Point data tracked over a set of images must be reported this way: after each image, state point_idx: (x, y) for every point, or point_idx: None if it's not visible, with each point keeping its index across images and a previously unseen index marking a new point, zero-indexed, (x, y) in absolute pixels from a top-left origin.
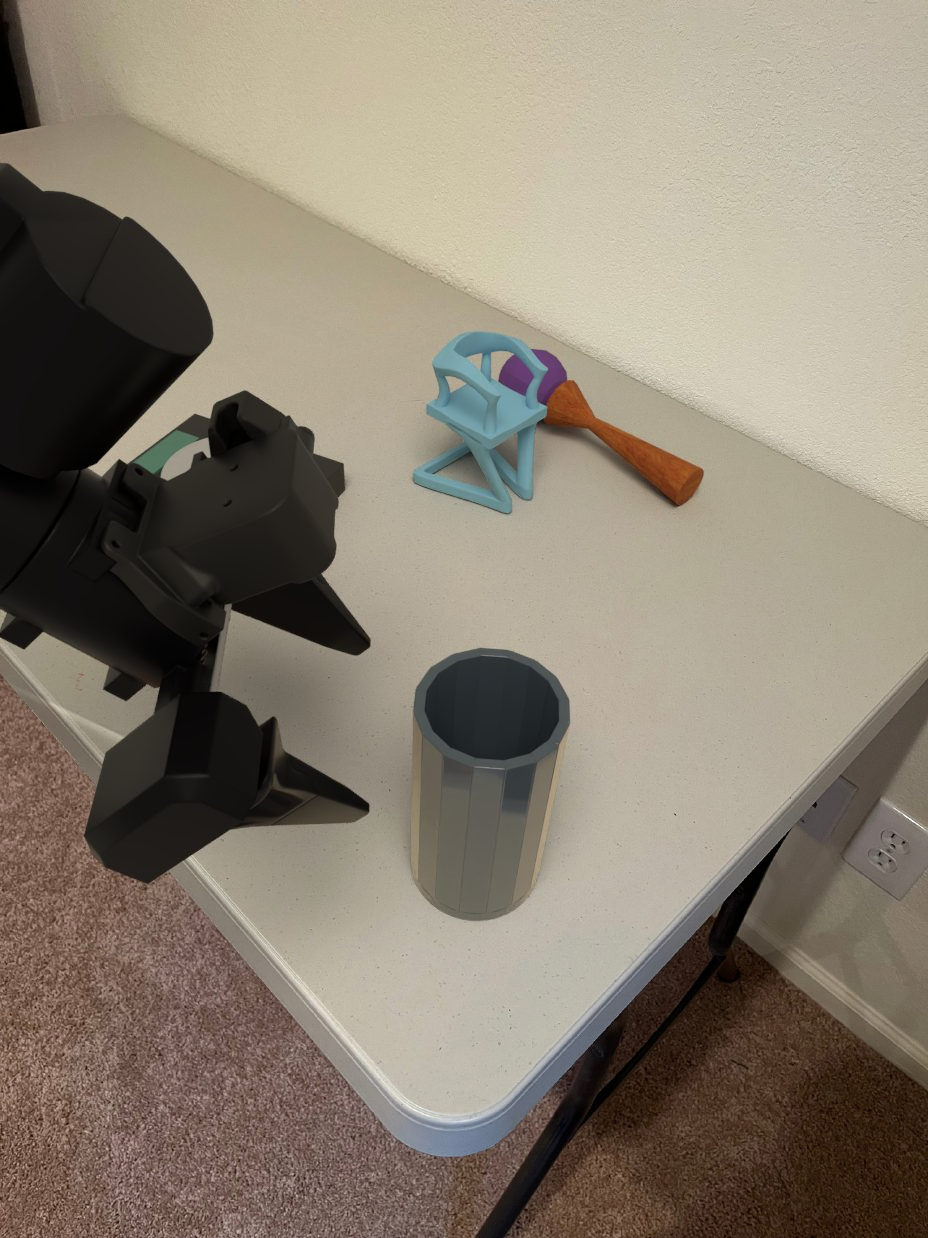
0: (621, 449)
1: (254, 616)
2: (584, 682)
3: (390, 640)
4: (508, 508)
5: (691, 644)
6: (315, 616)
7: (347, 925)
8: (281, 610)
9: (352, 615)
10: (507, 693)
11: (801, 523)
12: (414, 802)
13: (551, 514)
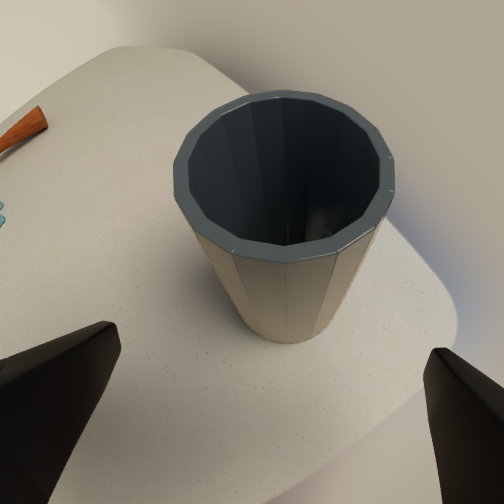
0: (3, 145)
1: (49, 493)
2: (143, 189)
3: (64, 324)
4: (2, 217)
5: (138, 127)
6: (57, 400)
7: (332, 398)
8: (41, 454)
9: (64, 336)
10: (217, 174)
11: (89, 79)
12: (298, 318)
13: (17, 193)
